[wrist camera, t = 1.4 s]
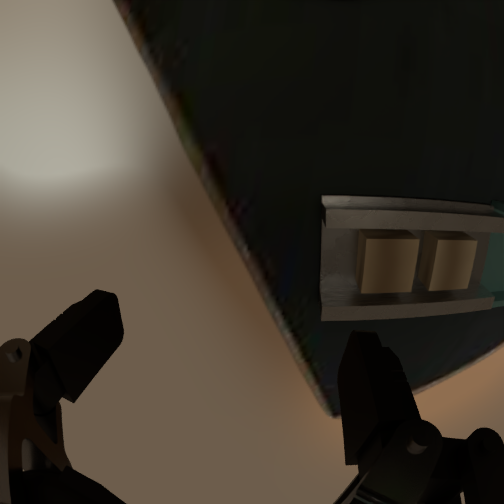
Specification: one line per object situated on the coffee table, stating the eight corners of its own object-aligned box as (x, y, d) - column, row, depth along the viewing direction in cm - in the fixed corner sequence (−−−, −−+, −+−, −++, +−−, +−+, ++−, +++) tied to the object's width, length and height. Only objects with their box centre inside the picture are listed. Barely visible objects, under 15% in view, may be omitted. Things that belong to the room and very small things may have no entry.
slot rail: (489, 204, 21) (512, 213, 17) (472, 293, 25) (489, 312, 20) (320, 194, 24) (326, 202, 20) (318, 300, 28) (320, 325, 24)
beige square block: (407, 229, 23) (419, 239, 20) (401, 277, 25) (410, 291, 22) (358, 229, 24) (366, 239, 21) (355, 278, 25) (361, 293, 23)
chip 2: (462, 231, 22) (477, 240, 19) (454, 276, 23) (467, 288, 21) (424, 230, 23) (438, 239, 20) (417, 277, 24) (428, 290, 22)
